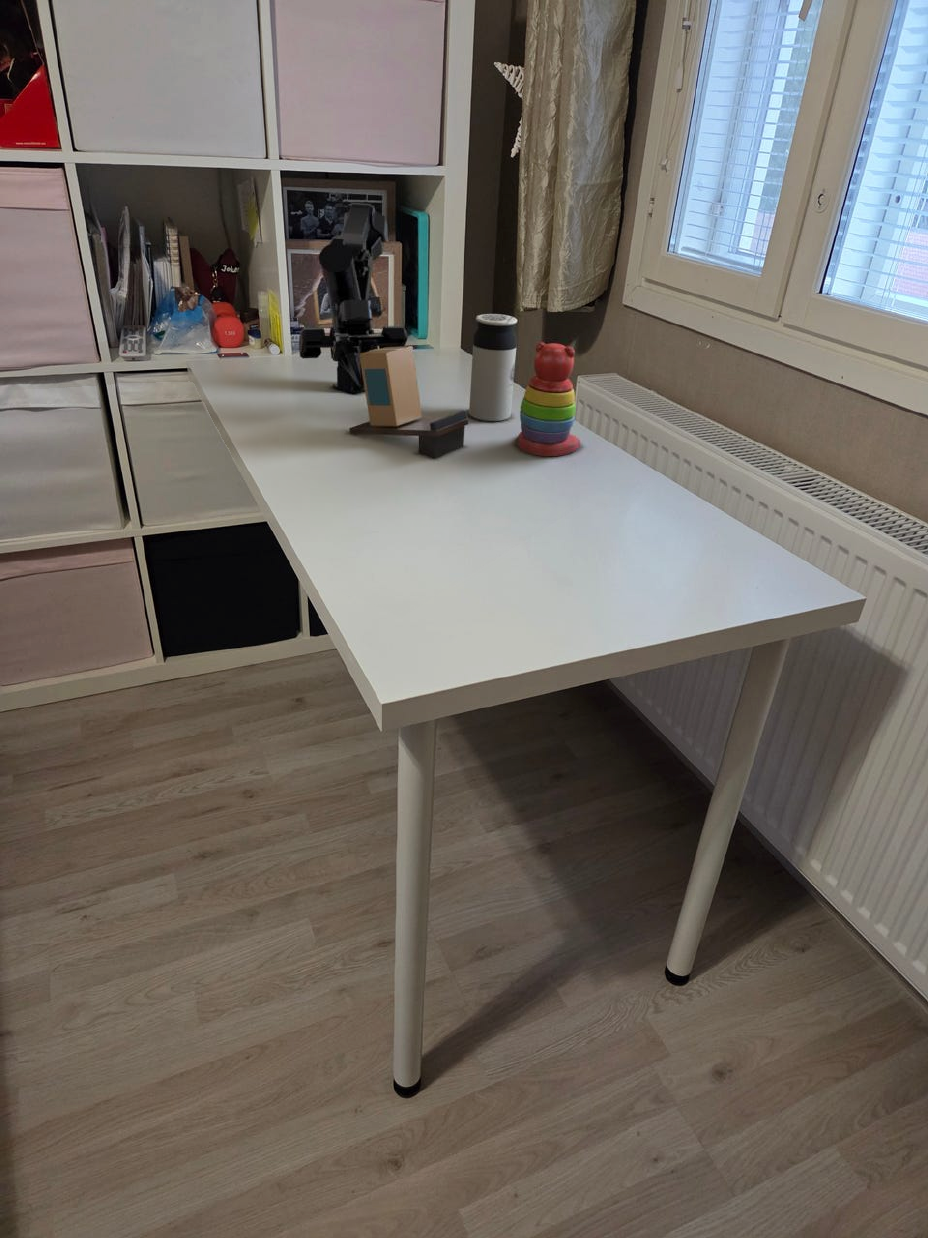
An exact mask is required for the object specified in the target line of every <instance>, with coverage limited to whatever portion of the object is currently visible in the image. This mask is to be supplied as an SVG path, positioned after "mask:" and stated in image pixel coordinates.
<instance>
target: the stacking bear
mask: <svg viewBox="0 0 928 1238" xmlns="http://www.w3.org/2000/svg"><path fill="white" fill-rule="evenodd" d="M535 351H536V353H535V355H534V359H533V368H534V372H535V375H534V376H533V377H531V379H530V380H529V382H528V384H527V386H526V388H525V391H524V394H523V397H522V399H521V400H522V401H521V404H520V412H519V418H520V419H519V420H520V429H521V431H520V433H518V436H517V442H516V443H517V446H518V448H519V449H521V450H522V451H523V452H525V453H528V454H531V455H534V456H542V457H556V456H557V457H558V456H563V455H568V454H570V453H573V452H575V451H577V450H578V449H579V448H580V447H581V440H580V439H579V437H577V436H576V435H574V434H571V429H572V428H573V425H574V422H575V419H576V394H575V389H574V385H573V383H572V382H571V380H570V379H569V377H570V375H571V373H572V372H573V369H574V364H575V357H574V356H575V354H576V352H575V349H574V348H573V347H572V346H569V345H567V346H565V345H563V344H561V343H555V342H554V343H553V342H552V343H545V342H543V341H541V342H538V343H537V344H536V346H535Z"/></svg>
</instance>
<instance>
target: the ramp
mask: <svg viewBox="0 0 928 1238" xmlns="http://www.w3.org/2000/svg"><path fill="white" fill-rule="evenodd" d="M468 425H469V418H468V415H467V411H465V410H464V411H463V410H462V411H459V412H456V413H453V414H451V415H448V416H446V417H421V418H418V419H415V420H413V421H410V422H407V423H404V424H402V425H399V426H372V425H370V420H369V421H366V422H363V423H360V424H356V425H354V426H351V427H349V428H348V430H349V434H353V435H378V436H403V437H405V436H407V437H418V440H417V443H418V444H417V454H418V455H420V456H424V457H427V458H430V459H433V460H435V459H438V458H440V457H443V456H445V455H447V454H450V453H452V452H454V451H456V450H459V449H461V448H463V447H464V443H465V427H466V426H468Z"/></svg>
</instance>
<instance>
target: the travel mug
mask: <svg viewBox="0 0 928 1238" xmlns="http://www.w3.org/2000/svg"><path fill="white" fill-rule="evenodd" d="M475 320H476V322H477V329H476V330H475V332H474V334H473V338H472V339H473V340H472V341H473V342H472V343H473V344H472V355H471V372H470V373H471V374H470V375H471V376H470V390H469V404H468V405H469V407H468V414H469V415H470V416H471V417H472V418H474V419H476V420H480V421H483V422H484V421H485V422H501V421H505V420H507V419H509V418H510V417H511V415H512V402H513V391H514V380H515V369H516V368H515V367H516V355H517V344H518V337H517V334H516V331H515V327H516V325H517V323H518V319H517V318H516V317H514V316H511V315H507V314H501V313H500V314H499V313H484V314H478V315H477V316H476V318H475Z"/></svg>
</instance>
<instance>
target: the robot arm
mask: <svg viewBox="0 0 928 1238" xmlns="http://www.w3.org/2000/svg"><path fill="white" fill-rule="evenodd" d="M388 235H389V234H388V223H387V219H386V216H385V215H383V214H381V213H380V212H378V211H377V210H376V208H375V206H374V205H371V203H358V202H357V203H356V202H355V203H354V202H352V203H350V204H348V205H347V212H346V213H344V218H343V228H342V231H341V233H340V234H339V235H335V236H332V238H331V240H330V241H329V243H328V244H327V245H326V246H324V247H323V248H322V249H321V250H320V252H319V254H318V262H319V267H320V269H321V273H322V277H323V281H324V285H325V286H326V293H327V298H328V304H329V309H330V314H331V318H332V319H331V324H332V326H330V329H329V335H326V331H325V329H324V327H303V328H302V329H301V331H300V333H299V337H298V338H299V339H298V353H299V357H300V358H301V359H318V358H319V357H320V355H321V354H322V349H329V350H330V358H331V359H332V361H333V362H337V367H336V383H334V384H332V386H331V387H332V388H333V389H337V390H339V391H342V392H343V391H344V392H347V393H350V394H356V395H357V394H360V393H365V388H364V381H363V375H362V369H361V362H360V356H359V354H361V353H365V352H369V351H371V350H375V349H381V348H385V347H405V346H406V344H407V341H408V332H407V330H406V329H405V328H404V326H402V325H390V326H389V325H384V326H383V327H382V330H381V332H380V333H376V334H375V330H374V329H372V328H373V327H372V321H373V318H380V317H381V316H382V314H383V306H382V301H381V297H380V296H370V290H371V284H372V278H373V277H372V276H373V268H374V261H376V260H377V259H378V258H380V256H381V255H382V254H383V251H384V246H385V243H387V242H388Z"/></svg>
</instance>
